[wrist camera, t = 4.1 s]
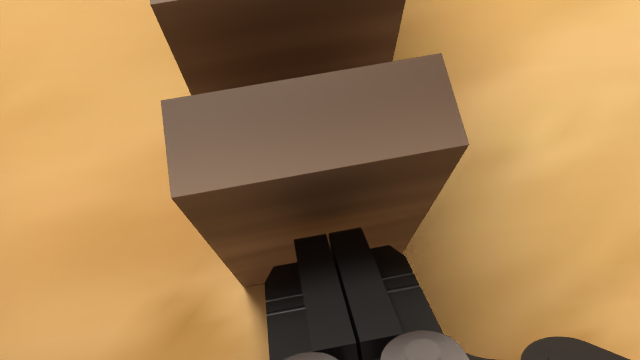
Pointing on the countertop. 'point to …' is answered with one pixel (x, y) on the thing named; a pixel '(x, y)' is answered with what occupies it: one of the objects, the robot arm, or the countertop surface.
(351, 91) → the domino
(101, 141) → the countertop surface
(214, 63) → the domino
